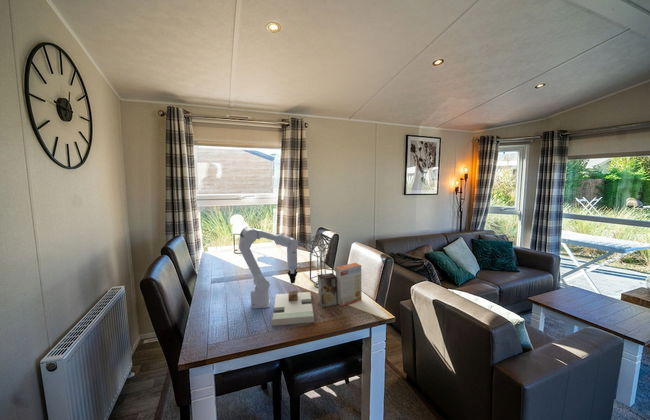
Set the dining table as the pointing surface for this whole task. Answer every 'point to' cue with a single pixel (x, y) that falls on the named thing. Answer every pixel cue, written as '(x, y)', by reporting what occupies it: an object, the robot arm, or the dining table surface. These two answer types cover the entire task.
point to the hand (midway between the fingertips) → (292, 280)
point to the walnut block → (293, 296)
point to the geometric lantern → (320, 250)
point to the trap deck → (292, 309)
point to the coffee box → (327, 289)
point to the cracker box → (348, 284)
